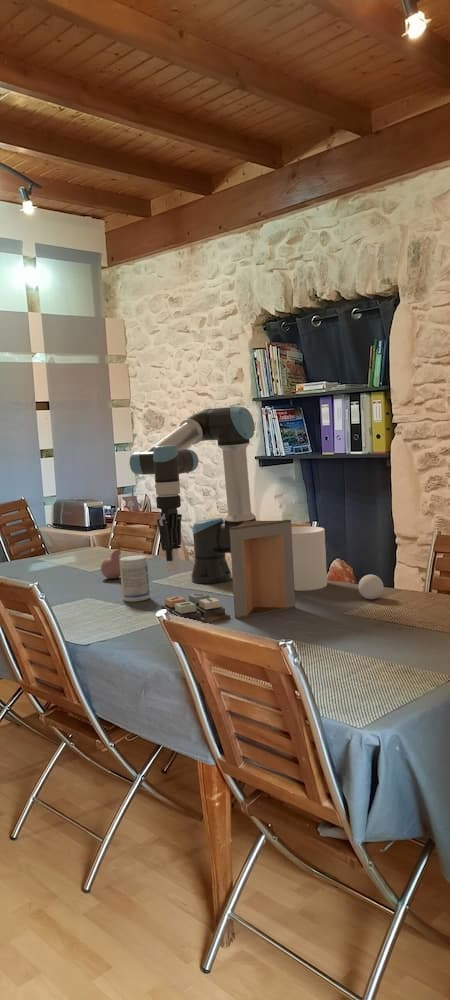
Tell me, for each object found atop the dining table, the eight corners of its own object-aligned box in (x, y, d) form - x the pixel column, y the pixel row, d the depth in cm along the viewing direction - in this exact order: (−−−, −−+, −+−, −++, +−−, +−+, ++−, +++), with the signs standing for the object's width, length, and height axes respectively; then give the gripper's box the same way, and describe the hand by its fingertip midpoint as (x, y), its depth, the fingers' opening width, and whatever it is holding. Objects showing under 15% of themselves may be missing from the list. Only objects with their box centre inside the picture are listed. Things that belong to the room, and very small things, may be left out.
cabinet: (237, 619, 229) (231, 527, 226) (222, 613, 238) (217, 524, 235) (295, 607, 239) (291, 520, 236) (279, 602, 247) (274, 517, 244)
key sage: (190, 607, 233) (189, 600, 233) (196, 611, 229) (195, 604, 228) (175, 610, 231) (174, 603, 231) (180, 613, 227) (180, 606, 226)
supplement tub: (154, 599, 262) (151, 557, 261) (130, 604, 257) (126, 561, 256) (141, 594, 270) (139, 554, 269) (117, 599, 265) (114, 558, 264)
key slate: (203, 598, 245) (202, 591, 244) (209, 601, 240) (208, 594, 240) (188, 600, 243) (188, 594, 242) (194, 603, 238) (194, 596, 238)
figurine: (133, 577, 303) (130, 547, 301) (108, 582, 296) (106, 551, 295) (121, 574, 310) (119, 545, 308) (97, 579, 303) (95, 549, 302)
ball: (388, 597, 245) (387, 573, 244) (375, 603, 239) (374, 578, 238) (367, 595, 250) (366, 571, 249) (353, 600, 244) (353, 575, 243)
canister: (276, 589, 266) (273, 533, 264) (289, 580, 280) (287, 526, 278) (320, 591, 260) (317, 533, 257) (331, 581, 274) (329, 526, 272)
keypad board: (206, 606, 248) (206, 597, 248) (230, 618, 231) (229, 608, 230) (157, 614, 241) (156, 604, 241) (178, 627, 224) (177, 617, 224)
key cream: (214, 603, 236) (213, 597, 236) (220, 607, 232) (220, 600, 232) (199, 606, 234) (198, 599, 234) (205, 609, 230) (205, 602, 230)
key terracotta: (180, 602, 241) (179, 595, 241) (185, 605, 237) (185, 598, 237) (165, 604, 239) (164, 597, 239) (170, 607, 235) (170, 600, 235)
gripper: (167, 492, 243) (172, 565, 245) (146, 498, 229) (151, 574, 231) (188, 492, 240) (193, 565, 242) (168, 497, 226) (173, 575, 229)
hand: (173, 569), depth 237 cm, fingers closed
